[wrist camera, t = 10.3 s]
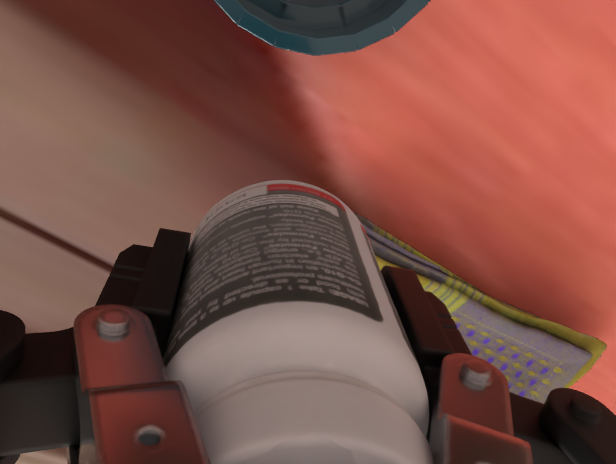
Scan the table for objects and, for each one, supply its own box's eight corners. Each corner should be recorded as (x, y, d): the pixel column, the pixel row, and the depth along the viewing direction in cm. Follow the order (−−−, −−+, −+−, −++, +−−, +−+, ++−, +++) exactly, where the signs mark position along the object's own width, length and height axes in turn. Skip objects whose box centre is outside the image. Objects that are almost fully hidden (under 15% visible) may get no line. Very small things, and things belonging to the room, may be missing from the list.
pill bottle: (149, 260, 15) (37, 563, 8) (283, 136, 14) (309, 346, 6) (277, 365, 17) (291, 699, 9) (405, 262, 16) (540, 545, 8)
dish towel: (121, 510, 36) (111, 553, 33) (341, 182, 28) (350, 204, 25) (359, 590, 41) (366, 631, 38) (602, 330, 33) (630, 361, 30)
